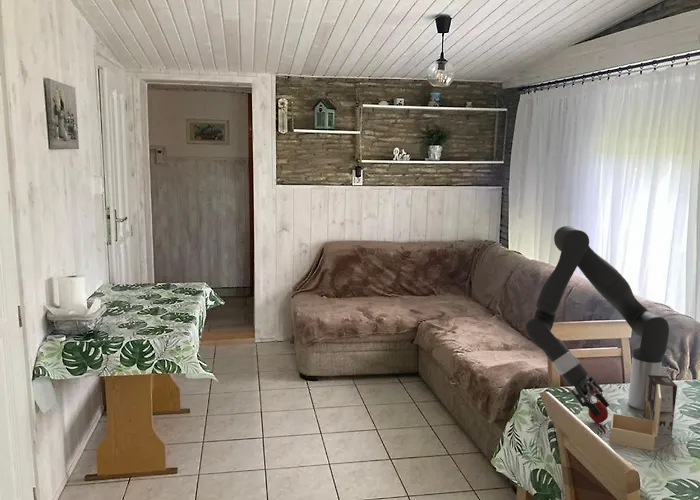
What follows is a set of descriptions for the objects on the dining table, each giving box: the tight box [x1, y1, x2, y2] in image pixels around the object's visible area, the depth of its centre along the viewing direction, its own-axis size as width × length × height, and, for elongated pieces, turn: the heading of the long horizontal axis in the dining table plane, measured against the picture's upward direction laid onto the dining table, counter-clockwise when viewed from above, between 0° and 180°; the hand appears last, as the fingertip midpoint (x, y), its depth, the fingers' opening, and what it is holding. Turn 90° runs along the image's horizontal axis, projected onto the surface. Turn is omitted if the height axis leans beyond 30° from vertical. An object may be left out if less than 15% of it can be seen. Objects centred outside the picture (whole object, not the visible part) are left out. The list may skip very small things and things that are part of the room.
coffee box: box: [642, 375, 678, 436], centre depth 185 cm, size 9×6×16 cm
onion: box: [588, 399, 609, 425], centre depth 188 cm, size 6×6×8 cm
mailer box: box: [609, 384, 661, 452], centre depth 177 cm, size 12×12×16 cm
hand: (602, 410), depth 187 cm, fingers open, 8 cm apart
